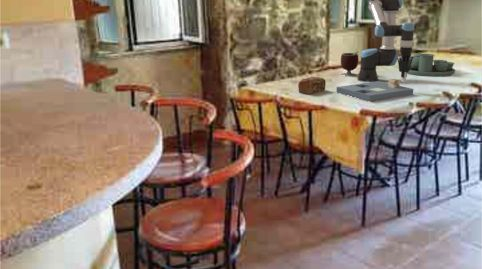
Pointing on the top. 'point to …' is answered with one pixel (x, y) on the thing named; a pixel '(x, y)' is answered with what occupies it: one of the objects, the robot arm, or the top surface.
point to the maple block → (394, 83)
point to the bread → (311, 85)
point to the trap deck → (374, 91)
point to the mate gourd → (349, 63)
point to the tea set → (430, 66)
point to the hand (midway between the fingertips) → (403, 81)
